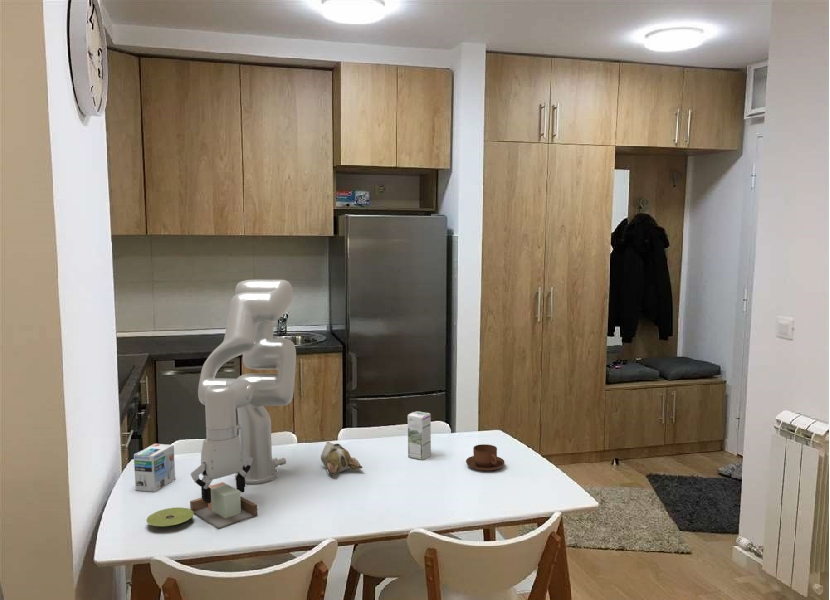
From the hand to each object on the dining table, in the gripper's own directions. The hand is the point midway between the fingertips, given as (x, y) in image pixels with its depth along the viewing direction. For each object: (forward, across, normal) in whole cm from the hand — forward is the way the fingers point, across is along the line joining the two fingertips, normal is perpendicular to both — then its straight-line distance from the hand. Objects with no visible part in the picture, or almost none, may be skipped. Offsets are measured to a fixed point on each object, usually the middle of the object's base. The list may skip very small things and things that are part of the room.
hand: (224, 496), depth 172 cm
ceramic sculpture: (+5, -41, -4) cm, 41 cm away
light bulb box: (+5, +4, -33) cm, 34 cm away
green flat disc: (+5, +13, -4) cm, 14 cm away
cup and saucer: (+5, -74, +28) cm, 80 cm away
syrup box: (+5, -67, +6) cm, 67 cm away
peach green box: (+4, 0, 0) cm, 4 cm away
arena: (+4, +1, +1) cm, 5 cm away
